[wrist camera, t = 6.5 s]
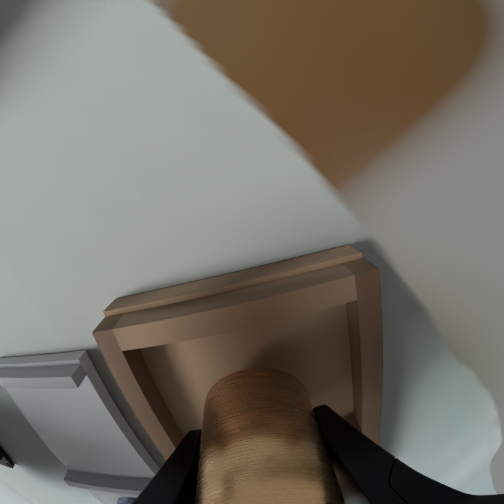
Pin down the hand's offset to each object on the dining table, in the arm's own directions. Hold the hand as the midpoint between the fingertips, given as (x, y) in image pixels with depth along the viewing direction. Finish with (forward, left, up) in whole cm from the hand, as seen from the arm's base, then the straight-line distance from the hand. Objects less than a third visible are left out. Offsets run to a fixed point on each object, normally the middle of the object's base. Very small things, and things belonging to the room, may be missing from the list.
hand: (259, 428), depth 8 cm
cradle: (-10, -7, -3) cm, 13 cm away
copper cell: (0, 0, -1) cm, 1 cm away
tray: (0, -4, -3) cm, 5 cm away
